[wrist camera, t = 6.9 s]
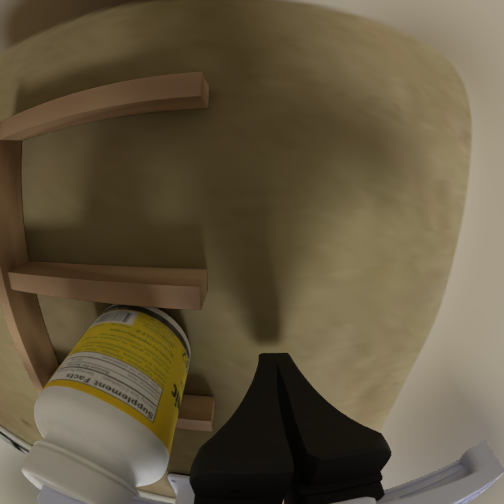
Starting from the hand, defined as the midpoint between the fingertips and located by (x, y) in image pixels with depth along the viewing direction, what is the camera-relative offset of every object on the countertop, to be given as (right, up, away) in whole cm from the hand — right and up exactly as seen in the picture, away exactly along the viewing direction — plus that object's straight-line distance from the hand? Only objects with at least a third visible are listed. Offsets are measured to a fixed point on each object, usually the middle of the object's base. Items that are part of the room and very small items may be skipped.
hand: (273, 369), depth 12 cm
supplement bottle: (-7, +1, +1) cm, 7 cm away
